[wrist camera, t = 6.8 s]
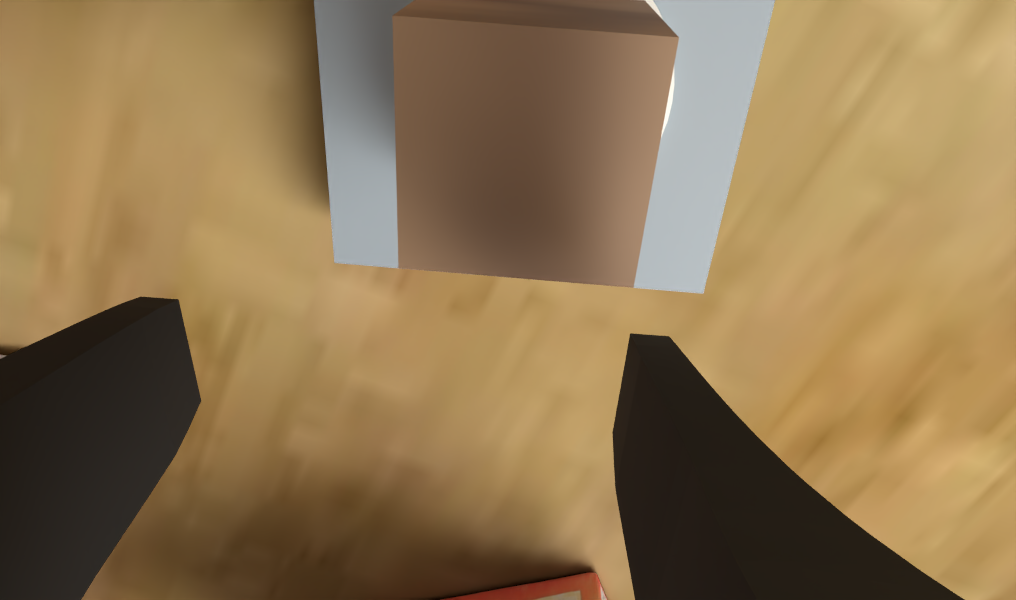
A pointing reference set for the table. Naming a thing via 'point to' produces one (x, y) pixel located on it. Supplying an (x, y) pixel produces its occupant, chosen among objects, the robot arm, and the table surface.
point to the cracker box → (547, 590)
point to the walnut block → (528, 135)
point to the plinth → (681, 157)
